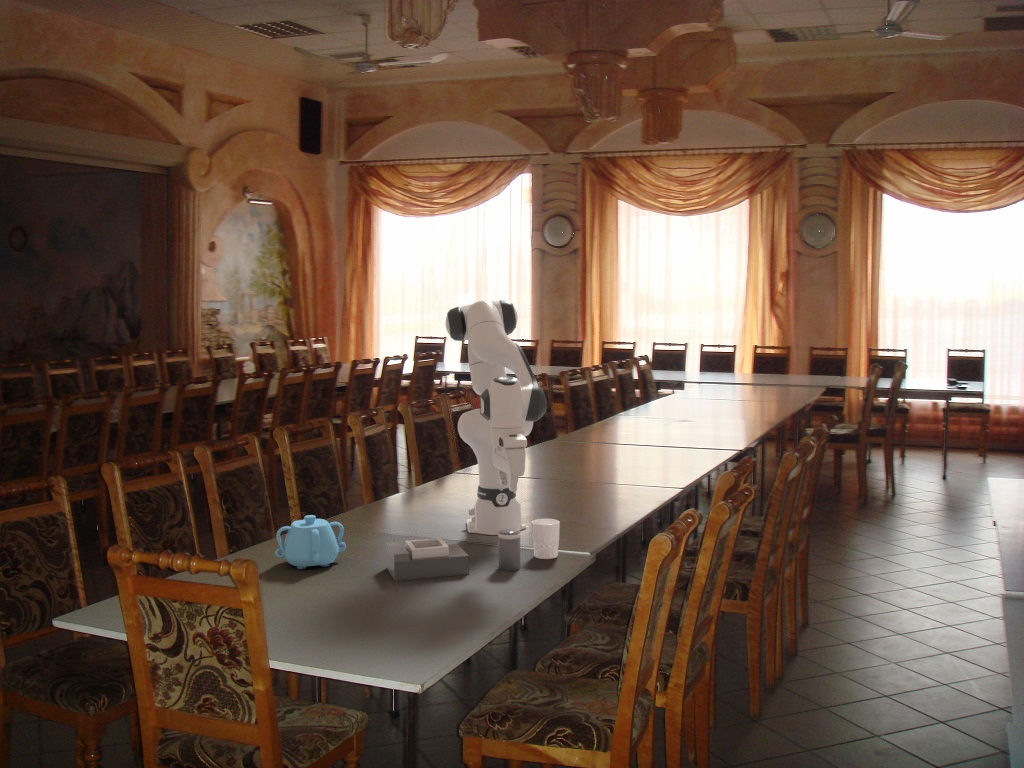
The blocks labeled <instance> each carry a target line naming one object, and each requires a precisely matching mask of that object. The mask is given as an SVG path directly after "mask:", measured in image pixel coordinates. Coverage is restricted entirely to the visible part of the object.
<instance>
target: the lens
mask: <svg viewBox="0 0 1024 768" xmlns="http://www.w3.org/2000/svg"><path fill="white" fill-rule="evenodd" d="M497 539H498V540H497V544H498V545H497V548H498V551H497V553H498V555H497V557H498V569H499V570H501V571H505V572H513V571H518V570H520V569H521V568H522V567H521V559H522V558H521V530H520V531H519V530H516V529H504V530H500V531H498V535H497Z"/></svg>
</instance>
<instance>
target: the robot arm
mask: <svg viewBox="0 0 1024 768" xmlns="http://www.w3.org/2000/svg"><path fill="white" fill-rule="evenodd" d="M517 324H518V311H517V310H516V308H515V306H514V304H513V303H512V302H511V300H505V299H504V300H503V299H499V301H498V300H497V301H496V300H494V301H493V300H490V301H489V300H478V301H476V302H474V303H472V304H467V305H463V306H456V307H453V308H451V309H449V310H448V312H447V313H446V318H445V328H446V332H447V333H448V335H449V336H450V339H452V340H454V341H455V342H464V341H467V357H468V366H469V367H468V368H469V372H470V374H469V375H470V379H471V387H472V390H473V391H474V393H475V394H477V395H478V396H479V401H480V403H479V407H480V408H475V409H472V410H469V411H466V412H463V413H462V414H461V415H460V417H459V418H458V422H457V432H458V435H459V437H460V438H461V440H462V441H463V442H464V443H466V444H467V445H468V446H469V447H470V449H472V452H473V453H474V455H475V457H476V461H477V467H478V486H477V491H476V492H477V499H476V500H475V502H474V504H473V506H472V507H471V508H470V507H469V508H468V516H471V518H468V519H466V522H465V523H466V528H467V532H468V533H470V534H481V535H489V536H496V535H497V536H498V531H500V530H504V529H516V530H519V531H520V532H521V530H525V529H527V524H525V523H523V520H522V518H523V517H522V507H521V506H522V504H521V502H520V501H518V499H517V498H516V497H517V491H518V483H519V477H523V476H524V475H525V471H526V447H527V446H528V440H527V438H526V437H527V436H529V435H530V434H531V432H532V430H533V427H534V423H535V422H537V421H539V420H540V419H541V418H542V417H543V416H544V415H545V414H546V412H547V406H548V404H547V398H546V394H545V392H544V390H543V388H542V387H541V385H539V382H538V381H537V378H536V376H535V374H534V371H533V370H532V368H531V366H530V363H529V361H528V358H527V357H526V355H525V352H524V351H523V348H522V347H521V346H520V345H519V344H518V343H516V342H514V341H513V340H512V339H511V338H510V337H509V336H508V335H511V334H512V333H513V332H514V331H515V329H516V328H517ZM506 369H509V370H510V371H511V372H513V373H514V375H515V377H514V376H507V371H506Z"/></svg>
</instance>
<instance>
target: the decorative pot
mask: <svg viewBox="0 0 1024 768" xmlns="http://www.w3.org/2000/svg"><path fill="white" fill-rule="evenodd" d="M335 526H337V527H339V534H338V537H336V533H335V531H334V530H333V527H335ZM283 531H287V533H286V536H285V539H284V543H283V541H282V537H281V534H282V532H283ZM344 532H345V528H344V526H343V524H342V523H340V522H338V521H332V522H329V521H328V520H326V519H323V518H316V515H315V514H314V515H313V514H310V515H309V514H307V515H305V516H304V517H303V519H299V520H294V521H293V522H292V523H291V524H290V526H289V525H286V526H282V527H280V528H279V529H278V530H277V532H276V535H275V536H276V537H275V538H276V541H277V543H278V545H279V547H278V548H277V549H276V550H275V552H274V554H275V556H276V557H277V558H279V559H281V558H284V559H285V560H286V561H287V562H288V564H290V565H291V566H295V567H296V569H298V570H304V569H305V570H306V569H307V567H315V566H320V567H329V566H330V565H331V564H332V563H334V562H335V560H336V558H337V557H338V554H339V552H344V551H345V550H346V548H347V545H346V543H345V542H344V541H342V539H343V537H344ZM341 545H342V547H340V546H341ZM280 551H281V553H279V552H280Z"/></svg>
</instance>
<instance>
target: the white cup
mask: <svg viewBox="0 0 1024 768" xmlns="http://www.w3.org/2000/svg"><path fill="white" fill-rule="evenodd" d="M560 522H561V521H559V520H558V519H554V518H537V519H534V520H531V535H532V536H531V537H532V547H533V557H534V558H536V559H539V560H551V559H556V558H558V556H559V546H560V524H561V523H560Z"/></svg>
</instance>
